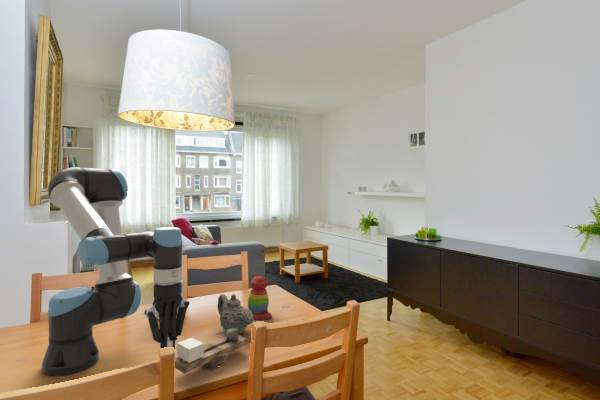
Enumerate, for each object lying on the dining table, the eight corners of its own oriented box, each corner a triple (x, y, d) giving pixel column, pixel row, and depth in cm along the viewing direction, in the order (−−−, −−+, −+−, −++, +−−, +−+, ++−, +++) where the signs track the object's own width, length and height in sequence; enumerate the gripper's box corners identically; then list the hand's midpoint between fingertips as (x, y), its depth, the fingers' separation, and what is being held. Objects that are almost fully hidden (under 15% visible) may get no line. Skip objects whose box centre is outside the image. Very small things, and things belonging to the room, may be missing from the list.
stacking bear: (273, 318, 149) (273, 278, 149) (250, 321, 146) (251, 280, 145) (266, 310, 159) (266, 272, 159) (245, 313, 156) (245, 274, 155)
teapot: (262, 334, 133) (262, 296, 133) (238, 344, 124) (239, 303, 124) (229, 319, 147) (229, 285, 147) (205, 327, 139) (206, 291, 138)
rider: (189, 369, 100) (189, 349, 100) (177, 362, 104) (177, 342, 104) (203, 362, 104) (203, 343, 104) (191, 356, 108) (191, 337, 108)
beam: (184, 383, 99) (184, 356, 99) (171, 375, 103) (171, 349, 103) (247, 353, 118) (247, 330, 118) (233, 346, 123) (233, 324, 122)
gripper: (152, 289, 90) (152, 376, 91) (195, 279, 100) (194, 358, 101) (138, 283, 95) (139, 367, 96) (181, 275, 105) (180, 350, 106)
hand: (167, 362), depth 98 cm, fingers closed
